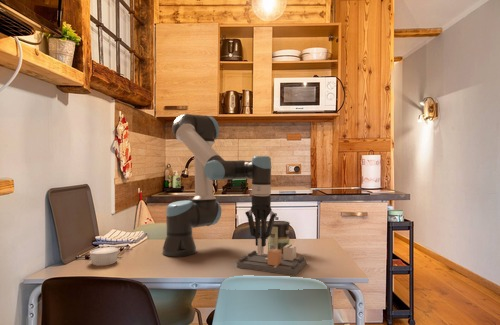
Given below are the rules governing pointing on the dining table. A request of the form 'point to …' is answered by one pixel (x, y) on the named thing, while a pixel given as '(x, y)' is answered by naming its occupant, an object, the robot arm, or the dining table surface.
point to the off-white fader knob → (289, 252)
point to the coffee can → (279, 235)
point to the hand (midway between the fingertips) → (260, 254)
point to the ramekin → (104, 256)
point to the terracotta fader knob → (274, 257)
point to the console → (262, 264)
